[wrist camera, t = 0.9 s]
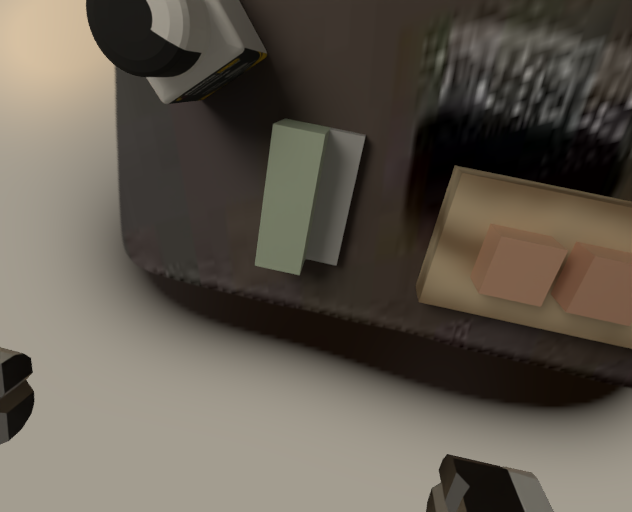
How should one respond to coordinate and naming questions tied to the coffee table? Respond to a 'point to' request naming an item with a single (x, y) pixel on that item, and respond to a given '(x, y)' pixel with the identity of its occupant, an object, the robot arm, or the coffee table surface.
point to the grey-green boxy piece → (306, 194)
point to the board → (529, 215)
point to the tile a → (517, 265)
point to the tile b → (596, 284)
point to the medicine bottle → (177, 43)
